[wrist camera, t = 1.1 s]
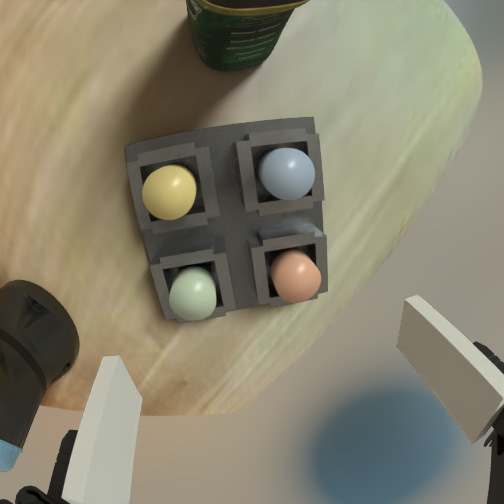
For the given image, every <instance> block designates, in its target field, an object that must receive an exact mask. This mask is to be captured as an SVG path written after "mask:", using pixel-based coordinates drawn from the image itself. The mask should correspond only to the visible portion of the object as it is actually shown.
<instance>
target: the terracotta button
mask: <svg viewBox="0 0 504 504" xmlns="http://www.w3.org/2000/svg"><path fill="white" fill-rule="evenodd" d="M270 276H271V279H272V281H273V283H274V285H275V288H276V290H277V292H278V294H279V296H280V297H281V298H282V299H284V300H285V301H288V302H291V303H299V302H303V301H306V300H308V299H309V298H311V297H312V296H313V295H314V294H315V293H316V292H317V290H318V289H319V286H320V283H321V274H320V271H319V270H318V268H317V267H316V266H315V264H314V263H313V262H312V261H311V259H310V258H309V257H308V256H307V254H305V253H304V252H303V251H300V250H296V249H290V250H286V251H283V252H281V253H280V254H278V255H277V256H276V257H275V258H274V260H273V261H272V264H271V267H270Z"/></svg>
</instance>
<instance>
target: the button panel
mask: <svg viewBox="0 0 504 504" xmlns="http://www.w3.org/2000/svg"><path fill="white" fill-rule="evenodd" d="M275 148H292V149H297V150H300V151H302V152H303V153H305V154H306V155H307V156H308V157H309V158H310V160H311V161H312V163H313V166H314V169H315V179H314V183H313V185H312V187H311V189H310V190H309V191H308V193H307V194H305V195H304V196H303V197H301V198H299V199H296V200H290V201H288V200H282V199H279V198H277V197H275V196H274V195H272V194H271V193H270V192H269V191H268V190H267V189H266V188H264V186H263V185H262V184H261V182H260V180H259V177H258V166H259V162H260V160H261V159H262V157H263V156H264V155H265V154H266V153H267V152H268V151H270V150H272V149H275ZM125 152H126V158H127V163H126V166H127V172H128V177H129V182H130V187H131V192H132V197H133V201H134V206H135V210H136V215H137V219H138V223H139V228H140V230H142V234H143V238H144V242H145V246H146V250H147V254H148V258H149V261H150V265H149V266H150V270H151V273H152V277H153V280H154V284H155V287H156V290H157V294H158V297H159V300H160V303H161V307H162V310H163V313H164V316H165V319H166V320H171V319H177V322H178V323H182V322H189V320H185V319H183V318H181V317H179V316H178V315H176V314H175V313H174V312H173V310H172V309H171V307H170V304H169V295H170V291H171V287H172V283H173V279H174V277H175V275H176V274H177V273H178V272H179V271H180V270H181V269H183V268H186V267H190V266H197V267H201V268H203V269H205V270H207V271H208V272H209V273H210V274H211V275H212V276H213V278H214V280H215V285H216V306H215V309H214V311H213V312H212V313H211V314H210V315H209V316H208V317H206V318H205V319H209V318H215V317H221V316H226V313H225V311H230V310H236V309H241V308H247V307H253V306H258V305H264V304H270V307H271V308H272V307H278V306H283V305H288V304H293V303H291V302H288V301H285V300H284V299H282V298H281V297H280V296H279V294H278V292H277V290H276V288H275V285H274V283H273V281H272V279H271V276H270V267H271V264H272V261H273V260H274V258H275V257H276V256H277V255H278V254H280V253H281V252H283V251H286V250H290V249H296V250H300V251H303V252H304V253H305V254H307V256H308V257H309V258H310V259H311V261H312V262H313V263H314V264H315V266H316V267H317V268H318V270H319V271H320V274H321V283H320V286H319V289H318V290H317V292H316V293H315V294H314V295H313V296H312V297H311V298H309V299H308V300H312V299H317V298H318V296H317V294H319V293H324V292H327V291H328V271H327V238H326V235H325V234H324V233H323V216H322V201H323V200H324V186H323V174H322V162H321V151H320V142H319V134H316V133H315V124H314V117H301V118H286V119H275V120H264V121H255V122H246V123H238V124H231V125H224V126H217V127H211V128H205V129H199V130H193V131H188V132H182V133H177V134H172V135H167V136H163V137H158V138H154V139H149V140H145V141H141V142H137V143H133V144H129V145H125ZM171 164H176V165H181V166H183V167H185V168H187V169H188V170H189V171H190V172H191V173H192V174H193V175H194V177H195V180H196V183H197V193H196V196H195V199H194V203H193V205H192V207H191V208H190V210H189V211H188V212H187V213H186V214H185V215H183V216H182V217H180V218H178V219H174V220H163V219H160V218H157V217H155V216H154V215H152V214H151V213H150V212H149V211H148V209H147V208H146V206H145V204H144V202H143V197H142V190H143V186H144V183H145V181H146V179H147V178H148V176H149V175H150V174H151V173H153V172H154V171H156V170H157V169H159V168H161V167H164V166H166V165H171ZM306 301H307V300H306ZM202 320H203V319H202Z"/></svg>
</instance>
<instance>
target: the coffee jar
mask: <svg viewBox="0 0 504 504" xmlns="http://www.w3.org/2000/svg"><path fill="white" fill-rule="evenodd" d="M308 1H309V0H186V4H187V11H188V19H189V25H190V30H191V34H192V38H193V41H194V44H195V47H196V50H197V52H198V54H199V56H200V58H201V60H202V61H203V62H204V63H205V64H206V65H207V66H208V67H210V68H212V69H215V70H220V71H229V70H236V69H242V68H246V67H250V66H254V65H256V64H259V63H261V62H263V61H264V60H266V59H267V58H268V57H269V55H270V54H271V52H272V51H273V49H274V47H275V45H276V43H277V41H278V39H279V37H280V35H281V33H282V30H283V29H284V27H285V25H286V23H287V21H288V19H289V18H290V16H291V14H292V12H293V11H294V9H295V8H297V7H299V6H301V5H303V4H305V3H306V2H308Z"/></svg>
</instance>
